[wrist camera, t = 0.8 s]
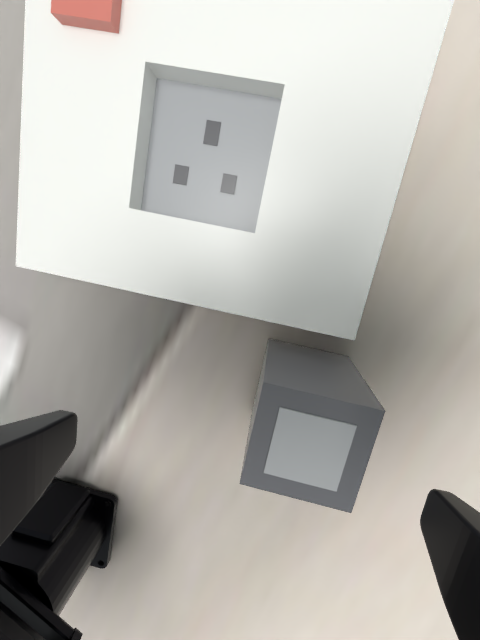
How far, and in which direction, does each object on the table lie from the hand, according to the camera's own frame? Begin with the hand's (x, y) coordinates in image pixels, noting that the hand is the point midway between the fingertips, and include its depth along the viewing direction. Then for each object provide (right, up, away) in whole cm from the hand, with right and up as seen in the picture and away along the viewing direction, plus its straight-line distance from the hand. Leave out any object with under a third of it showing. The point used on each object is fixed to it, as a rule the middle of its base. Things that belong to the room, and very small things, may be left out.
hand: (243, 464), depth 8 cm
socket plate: (-2, +13, +10) cm, 16 cm away
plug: (+4, 0, +12) cm, 13 cm away
